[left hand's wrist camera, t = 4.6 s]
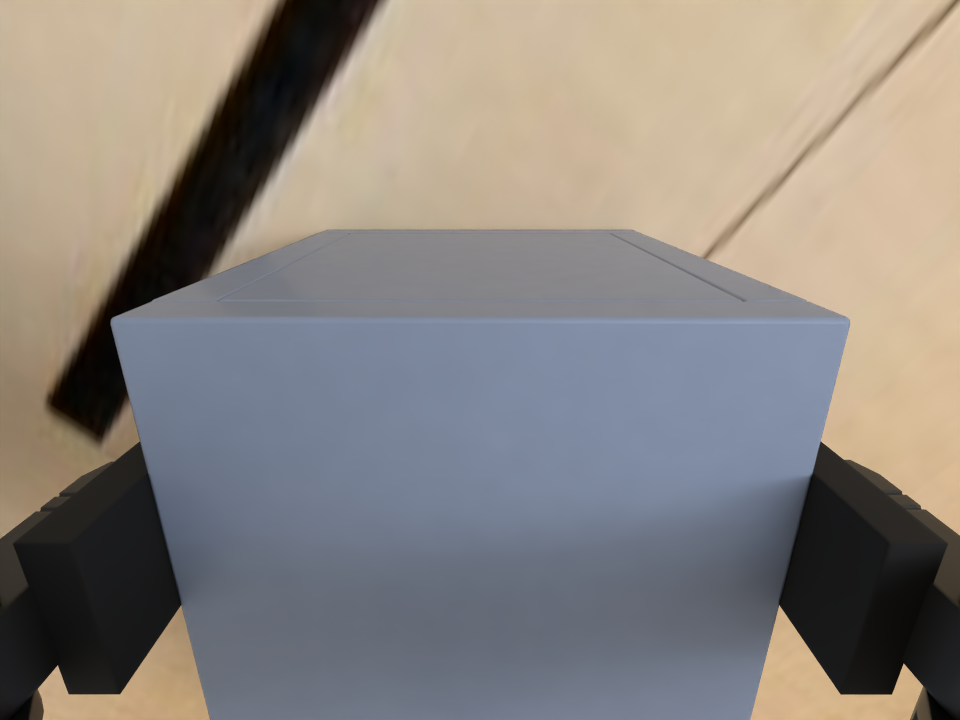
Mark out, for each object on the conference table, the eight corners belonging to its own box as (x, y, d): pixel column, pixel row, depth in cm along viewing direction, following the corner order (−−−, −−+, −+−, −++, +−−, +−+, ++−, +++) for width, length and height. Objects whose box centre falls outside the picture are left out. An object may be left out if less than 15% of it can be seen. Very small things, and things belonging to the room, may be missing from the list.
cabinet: (595, 617, 24) (687, 973, 13) (364, 617, 24) (272, 973, 13) (634, 229, 18) (855, 318, 7) (325, 229, 18) (105, 317, 7)
